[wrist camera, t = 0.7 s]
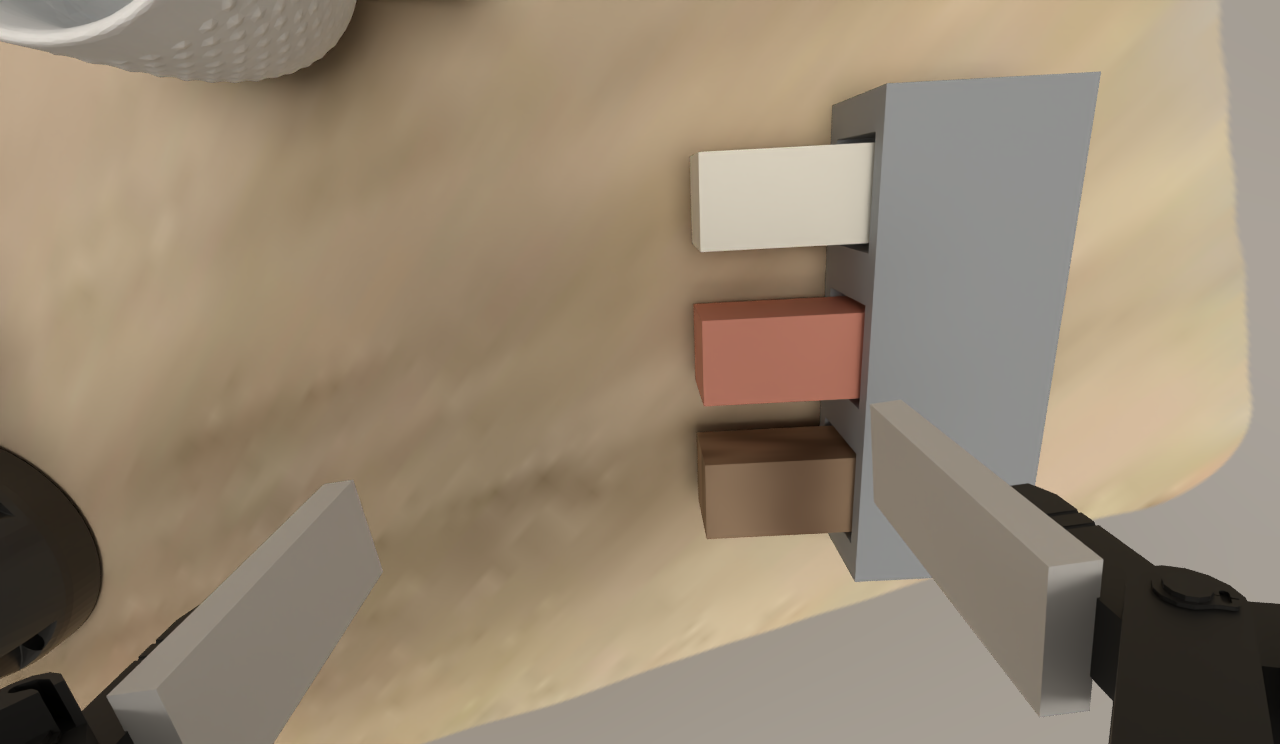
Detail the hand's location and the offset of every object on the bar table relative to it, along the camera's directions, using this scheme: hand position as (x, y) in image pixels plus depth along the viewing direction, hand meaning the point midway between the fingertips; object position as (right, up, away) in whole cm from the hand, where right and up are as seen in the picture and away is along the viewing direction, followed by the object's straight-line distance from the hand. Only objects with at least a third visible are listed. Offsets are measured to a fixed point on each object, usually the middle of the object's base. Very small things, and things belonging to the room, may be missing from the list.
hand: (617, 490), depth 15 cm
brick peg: (+8, +5, +16) cm, 18 cm away
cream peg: (+7, +11, +14) cm, 19 cm away
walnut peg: (+8, -2, +18) cm, 20 cm away
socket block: (+14, +5, +17) cm, 23 cm away
